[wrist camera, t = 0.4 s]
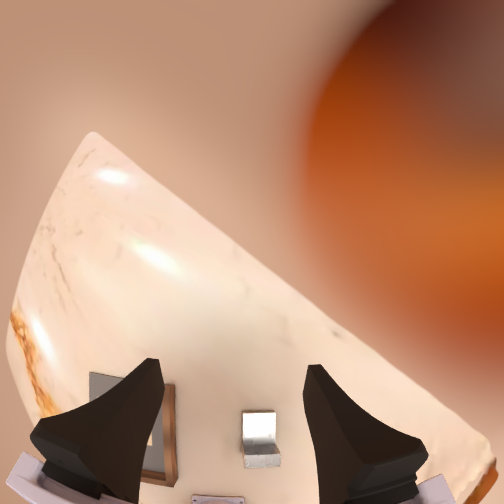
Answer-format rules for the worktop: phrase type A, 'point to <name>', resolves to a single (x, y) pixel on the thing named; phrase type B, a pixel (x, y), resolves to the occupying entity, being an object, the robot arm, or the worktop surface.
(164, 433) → the corner walls
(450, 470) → the worktop surface
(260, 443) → the angle bracket
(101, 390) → the corner mat
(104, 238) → the worktop surface
